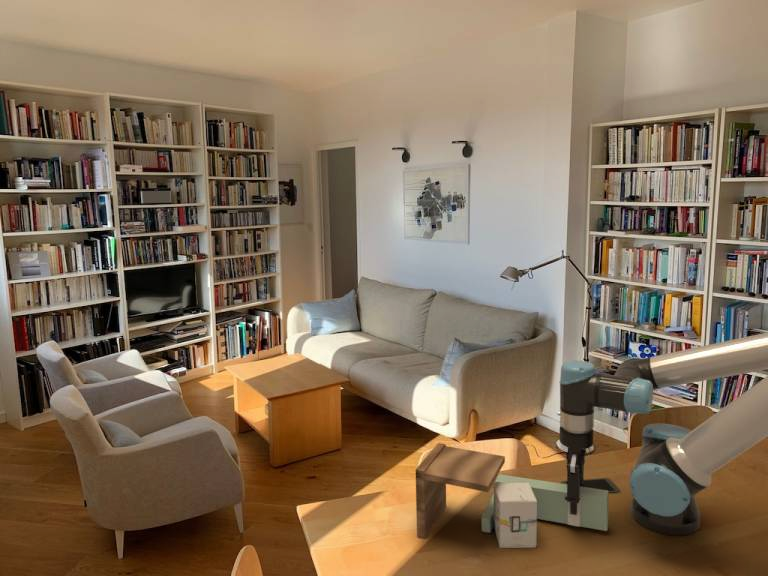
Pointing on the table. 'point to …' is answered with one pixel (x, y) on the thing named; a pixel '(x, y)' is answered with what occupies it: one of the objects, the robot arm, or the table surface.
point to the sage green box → (558, 504)
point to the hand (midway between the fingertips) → (575, 519)
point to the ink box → (515, 515)
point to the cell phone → (600, 484)
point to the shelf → (450, 479)
